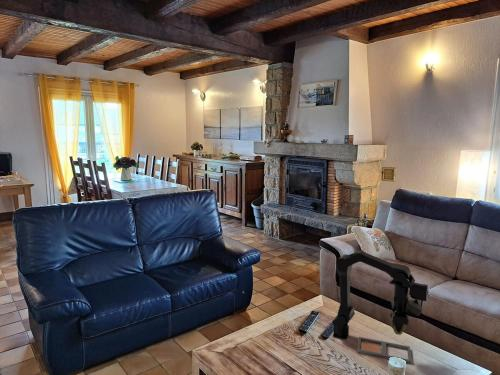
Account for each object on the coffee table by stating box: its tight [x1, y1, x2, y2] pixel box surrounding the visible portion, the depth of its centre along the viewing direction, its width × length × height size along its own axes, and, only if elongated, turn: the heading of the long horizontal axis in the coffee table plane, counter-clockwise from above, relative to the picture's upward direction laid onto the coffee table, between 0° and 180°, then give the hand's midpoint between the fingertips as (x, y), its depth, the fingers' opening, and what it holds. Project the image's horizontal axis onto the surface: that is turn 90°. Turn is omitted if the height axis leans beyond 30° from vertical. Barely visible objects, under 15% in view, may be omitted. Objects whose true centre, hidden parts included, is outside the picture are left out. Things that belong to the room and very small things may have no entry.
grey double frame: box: [356, 336, 412, 364], centre depth 158 cm, size 22×11×1 cm, turn 69°
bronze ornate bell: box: [389, 312, 410, 336], centre depth 154 cm, size 8×7×8 cm
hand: (398, 328), depth 155 cm, fingers closed on bronze ornate bell, 6 cm apart
